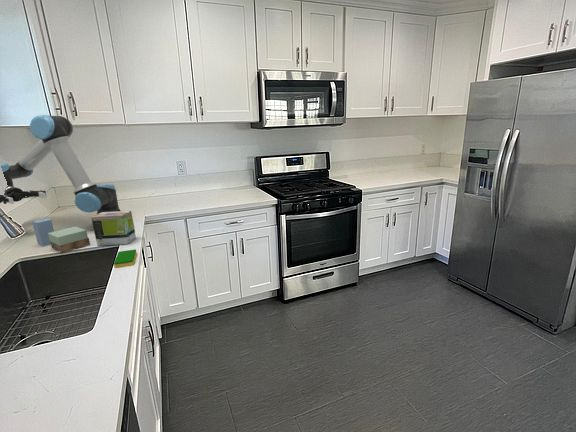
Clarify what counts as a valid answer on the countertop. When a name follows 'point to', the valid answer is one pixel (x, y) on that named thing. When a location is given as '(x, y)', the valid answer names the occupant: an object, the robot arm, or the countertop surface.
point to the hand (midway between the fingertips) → (29, 198)
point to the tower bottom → (71, 245)
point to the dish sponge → (125, 258)
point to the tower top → (67, 235)
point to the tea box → (113, 228)
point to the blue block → (43, 231)
